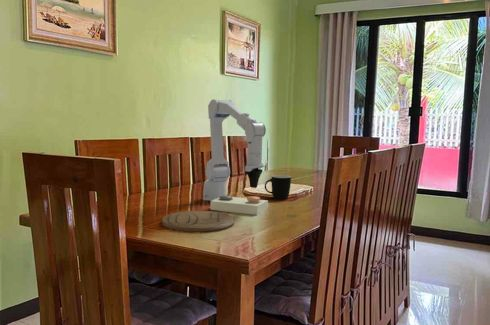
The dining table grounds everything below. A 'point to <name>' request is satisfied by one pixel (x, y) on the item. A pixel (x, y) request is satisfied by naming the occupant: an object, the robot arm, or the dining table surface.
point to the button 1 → (226, 197)
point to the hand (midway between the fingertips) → (253, 187)
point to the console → (239, 206)
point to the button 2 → (253, 199)
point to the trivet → (198, 221)
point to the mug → (280, 186)
